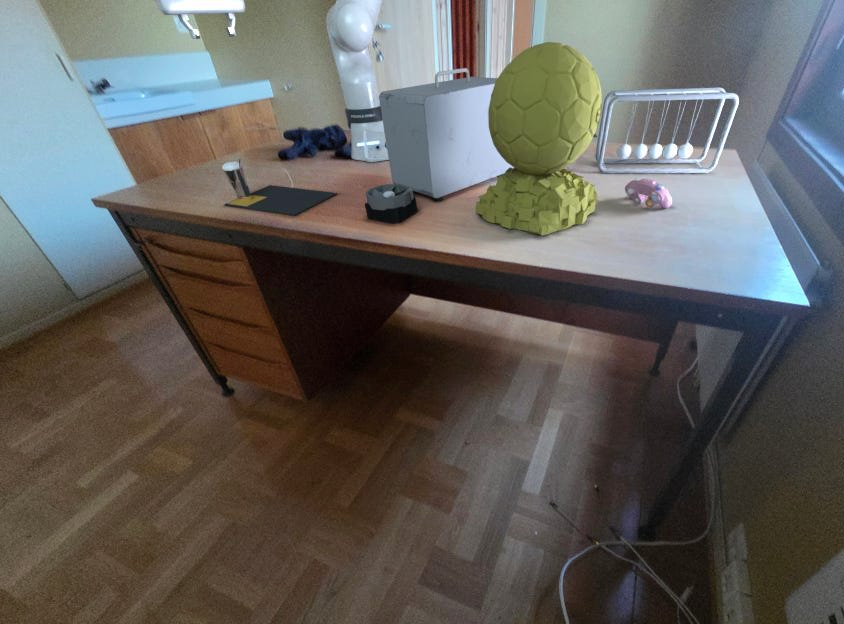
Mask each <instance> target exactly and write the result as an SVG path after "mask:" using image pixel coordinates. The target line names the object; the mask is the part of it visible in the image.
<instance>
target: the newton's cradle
mask: <svg viewBox="0 0 844 624" xmlns="http://www.w3.org/2000/svg"><path fill="white" fill-rule="evenodd" d="M612 97H613V98H612ZM611 98H612V99H611ZM610 99H611V100H610ZM692 100H696V103H695V106H694V110H693V115H692V119H691V123H690V127H689V131H688V135H687V139H686V142H685V143H683V144H681V145H680V146H679V147H678V146H677V145H676V144H675V143H674V140H675V137H676V134H677V132H678V129H679V126H680V123H681V119H682V117H683V113H684V110H685V107H686V104H687V101H692ZM698 100H702V101H701V104H700V107H699V109H698V112H697V115H696V117H695V121H694V116H695V113H696V109H697V104H698ZM704 100H719V102H718V105H717V108H716V111H715V114H714V117H713V120H712V122H711V126H710V129H709V132H708V135H707V137H706V140H705V144H704V147H703V150H702V153H701V155H700V156H699V157H697V158H689V157H690V156H691V155H692V154H693V151H694V148H693V146H692V144H691V143H689V142H690V139H691V136H692V134H693V130H694V127H695V125H696V122H697V119H698V116H699V114H700V112H701V108H702V105H703V102H704ZM726 100H732V106H731V109H730V111H729V115H728V117H727V119H726V123H725V125H724V129H723V131H722V134H721V138H720V140H719V143H718V145H717V149H716V151H715V155H714V157H713V160H712V163H711V165H710V166H709V167H706V168H704V166H702V165H701V164H700V163H701V162H702V161H703V160H705V158H706V157H707V154H708V152H709V148H710V146H711V143H712V139H713V137H714V133H715V131H716V128H717V124H718V121H719V119H720V116H721V112H722V110H723V106H724V104H725V101H726ZM655 101H664V104H663V110H662V114H661V119H660V124H659V128H658V133H657V137H656V143H652V144H651V145H650V146H649V147H648V146H647V145H646V144H645V143H644V141H645V137H646V132H647V129H648V125H649V121H650V118H651V114H652V110H653V107H654V104H655ZM666 101H668V105H667V108H666V111H665V107H666ZM671 101H680V103H679V107H678V112H677V116H676V121H675V125H674V129H673V134H672V138H671V142H670V143H668V144H666V145H664V147H662V145H661V144H659V140H660V137H661V133H662V130H663V127H664V123H665V120H666V116H667V114H668V110H669V106H670V104H671ZM682 101H685V103H684V106H683V108H682V112H681V115H680V118H679V114H680V111H681V105H682ZM617 102H618V103H619V102H633V103H632V109H631V113H630V119H629V123H628V129H627V134H626V138H625V143H622V144H621V145H619V146H618V147H617V149H616V157H617V158H604V157H605V153H606V147H607V146H606V145H607V139H608V133H609V128H610V123H611V117H612V111H613V107H614V105H615V104H616V103H617ZM635 102H636V104H635ZM639 102H648V107H647V111H646V117H645V121H644V128H643V132H642V133H643V134H642V138H641V142H640V143H639V144H637V145H635V146H634V147H633V150H632V147H631V145H629V144H627V143H628V139H629V136H630V131H631V128H632V125H633V121H634V117H635V115H636V114H635V113H636V110H637V106H638V103H639ZM651 102H652V104H651ZM739 103H740V99H739V95H738V94H737V93H735V92H726V90H725V89H724V88H722V87H718V86H717V87H695V88H694V87H690V88H689V87H687V88H657V89H656V88H655V89H654V88H653V89H625V90H624V89H623V90H612V91H609V92H608V93H607V94H606V96H605V97H604V100H603V106H602V110H601V116H600V122H599V123H600V124H599V131H598V135H597V143H596V148H595V155H594V156H595V157H594V158H595V160H596V162H597V168H598V170H599V171H600V172H601V173H603V174H708V173H710V172H712V171H713V170H715V168H716V167H717V165H718V162H719V159H720V156H721V154H722V152H723V149H724V146H725V143H726V140H727V137H728V134H729V132H730V128H731V126H732V124H733V120H734V118H735V115H736V112H737V109H738V107H739ZM650 104H651V108H650ZM634 105H635V108H634ZM649 109H650V112H649ZM664 111H665V114H664ZM648 115H649V116H648ZM663 116H664V118H663ZM678 118H679V121H678ZM662 121H663V122H662ZM693 121H694V122H693ZM677 123H678V124H677ZM692 124H693V126H692ZM631 153H632V156H633V158H630V156H631ZM646 155H647V157H648V158H645V157H646ZM661 155H662V157H663V158H659V157H660V156H661ZM676 155H677V157H678V158H674V157H675V156H676ZM605 164H611V165H612V164H696V165H697V166H698V167H699V168H606V165H605Z"/></svg>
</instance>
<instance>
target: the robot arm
mask: <svg viewBox="0 0 844 624" xmlns="http://www.w3.org/2000/svg"><path fill="white" fill-rule="evenodd" d="M155 3H156V6H157V8H158V10H159V11H160V12H161V13H162V14H163V15H164V16H177V17H178V19H179V22H180V23H181V24H182V25H183V26H184V27H185V29H186V30H188V33H189V35H190V38H191V39H192V40H200V39H201V36H200V34H199V30H198V29H197V28H196V29H194V27H193V26H192V25H191V24H190V23H189V21H190V19H189V16H188V15H217V14H220V15H221V14H222V15H223V14H224V15H225V18H226V20H228V27H225V31H226V32H227V36H228V37H229V38H230V37H237V32H236V30H235V25H236V16H235V14H243V13H245V11H246V3H245V0H155ZM382 4H383V0H336V1H335V3H334V4H333V5H332V6H331V7H330V8H329V10H328V11H327V14H326V21H325V25H326V31H327V35H328V39H329V43H330V47H331V51H332V55H333V59H334V62H335V63H334V64H335V67H336V70H337V75H338V77H339V82H340V87H341V91H342V97H343V100H344V106H345V109H344V114H345V115H344V116H345V120H346V123H347V126H348V129H349V135H350V147H351V148H350V150H351V151H350V158H351V159H352V160H356V161H363V162H366V163H367V162H368V163H376V162H383V161H389V157H388V151H387V145H386V139H385V132H384V126H383V120H382V113H381V107H380V101H379V96H380V92H379V86H378V80H377V75H376V71H375V69H374V65H373V61H372V57H371V53H370V49H369V46H370V44H371V42H372V39H373V36H374V32H375V29H376V26H377V22H378V19H379V15H380V12H381V8H382ZM593 138H598V135H597V134H596V133H595V134H594V136H593Z"/></svg>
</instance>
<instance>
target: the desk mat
mask: <svg viewBox="0 0 844 624" xmlns="http://www.w3.org/2000/svg"><path fill="white" fill-rule="evenodd" d="M250 194H251V197H252V199H251V200H250V201H246V202H240V201H239V200H238V199H237V198H236V199H233V200H231V201H229V202H226V203H224V207H231V208H239V209H245V210H251V211H258V212H265V213H273V214H279V215H286V216H292V217H296V216H299V215H300V214H302V213H305V212H306V211H309V210H310V209H313V208H314V207H316V206H318V205H320V204H322V203H323V202H325V201H327V200H329V199H331V198H333V197H335V196H337V195H338V193H337V192H333V191H323V190H316V189H315V190H313V189H307V188H299V187H297V188H296V187H289V186H281V185H273V184H270V185H267V186H265V187H262V188H260V189H257V190H255V191H253V192H250Z"/></svg>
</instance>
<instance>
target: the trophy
mask: <svg viewBox="0 0 844 624" xmlns="http://www.w3.org/2000/svg"><path fill="white" fill-rule="evenodd" d="M497 78H498V79H497V80H496V82H495V85H494V88H493V91H492V94H491V99H490V104H489V110H488V120H489V131H490V135H491V138H492V141H493V144H494V146H495V148H496V149H497V151H498V153H499V154H500V155H501V156H502V158H503V159H504V160H505V161H506V162H507V163H508V164H510V165H511V166H513V167H514V169H512V168H511V167H510V168H509V169H507V170H506V172H505V174H504V175H499V176H497V178H496V184H495V185H489V186H488V187H487V188H486V192H485V193H483V194H481V195H478V199H479V201H476V202H475V213H476V214H479V215H481V218H482V219H483V220H485V221H486V222H488V223H492V224H498V225H500V227H503V228H507V229H509V230H511V229H512V230H513V229H514V230H515V229H516V230H519V231H523V232H527V233H529V234H534V235H535V234H536V235H539V236H547V235H550V234H552V233H555V232H558V231H559V232H560V231H563V230H566V229H568V228H571V227H573V226H575V225H581V226H582V225H584V224H585V223H586V222H587V219H588V216H589V215H590V214H592V213H594V212H595V210H596V205H598V194H597V191H596V187H595V185H594V184H592V183H591V182H589V181H585V180H584V176H581V175H578V174H576V173H574V172H573V171H572V170H568V169H567V167H568V166H570V165H571V164H573V163H574V162H576V160H577V159H579V158H580V157H581V155H583V153H585V151H587V149H588V147H589V146H590V144H591V142H592V141H593V138H594V137H593V136H594V134H596V132H597V128H598V126H599V123H600V120H601V116H602V109H603V106H602V104H603V102H602V101H603V100H602V97H603V96H602V95H603V94H602V93H603V92H602V87H601V83H600V78H599V75H598V74H597V72H596V70H595V68H594V67H593V65H592V63H591V62H590V61H589V59H588V58H587V57H586V56H585V55H584V54H583V53H581V52H580V51H578V50H576V49H575V48H574V47H572V46H570V45H568V44H565V45H564V44H563V43H561V42H553V41H547V42H541V43H537V44H534V45H533V46H530V47H528V48H525V49H524V50H522V51H521V52H520V53H518V54H517V55H516V56H515V57H514V58H513V59H512V60H511V61H510V62H509V63H508V64H507V65H506V66H505V67H504V68H503V69H502V71H501V72H500V74H499V75H498V77H497Z"/></svg>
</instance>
